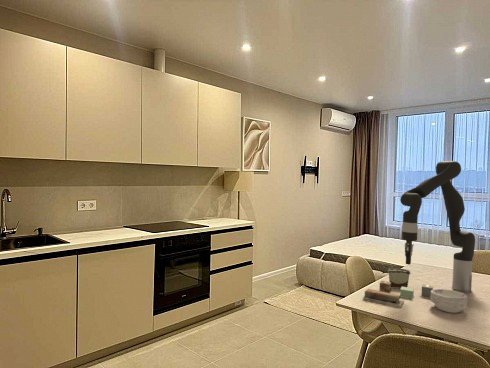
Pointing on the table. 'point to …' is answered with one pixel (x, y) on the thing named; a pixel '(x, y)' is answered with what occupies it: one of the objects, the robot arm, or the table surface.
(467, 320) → the table surface
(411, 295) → the plain sage block
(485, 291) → the table surface
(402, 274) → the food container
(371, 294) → the packaged product
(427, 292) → the charcoal striped block
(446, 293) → the paper bowls
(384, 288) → the walnut striped block
